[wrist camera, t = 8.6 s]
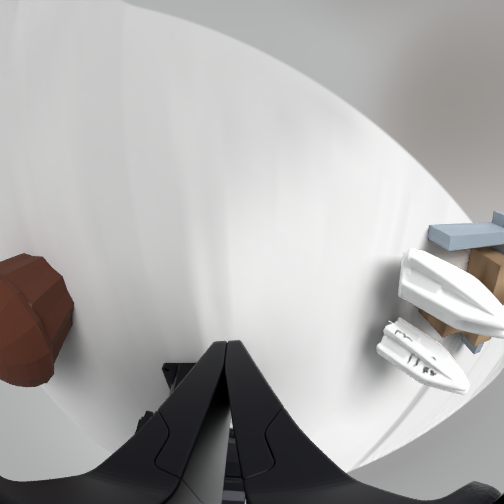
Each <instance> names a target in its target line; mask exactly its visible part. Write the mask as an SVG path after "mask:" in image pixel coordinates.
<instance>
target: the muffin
mask: <svg viewBox="0 0 504 504" xmlns="http://www.w3.org/2000/svg"><path fill="white" fill-rule="evenodd" d="M73 306H74V302H73V300H72V298H71V296H70V295H69V293H68V291H67V288H66V285H65V282H64V279H63V276H61V275H60V274H59V273H58V272H57V271H55V270H54V269H53V268H52V267H51V266H50V265H49V264H48V262H47V261H46V260H45V259H44V258H43V257H39V256H31V255H28V254H25V253H23V254H20V255H17V256H15V257H12V258H9V259H7V260H4V261H1V262H0V379H1V380H3V381H5V382H7V383H9V384H12V385H15V386H22V387H36V386H39V385H41V384H44V383H47V382H48V381H49V380H50V378H51V377H52V376H53V374H54V363H55V360H56V358H57V356H58V354H59V351H60V349H61V347H62V345H63V343H64V340H65V338H66V336H67V334H68V332H69V330H70V328H71V326H72V311H73Z"/></svg>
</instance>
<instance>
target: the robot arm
mask: <svg viewBox="0 0 504 504" xmlns="http://www.w3.org/2000/svg"><path fill="white" fill-rule="evenodd" d="M168 368H169V369H168ZM162 370H163V373H164V376H165V378H166V381H167V383H168V386H169V388H170V394H169V397H168V398H167V399H166V400H165V402H164V403H163V404H162V405H161V406H160V408H159V409H158V411H156V412H155V413H153V412H150V411H146V413H145V415H144V417H142V418H141V419H140V420H139V422H138V426H137V429H136V432H135V434H134V436H133V437H132V438H130V439H129V440H128V441H127V442H126V443H125V444H124V445H123V446H122V447H120V448H119V449H118V450H117V451H116V452H115V453H113V454H112V455H111V456H110V457H109V458H108V459H106V460H105V461H104V462H103V463H102V464H100V465H99V466H98V467H96V468H95V469H93V470H91V471H89V472H87V473H85V474H82V475H78V476H71V477H65V478H58V479H49V480H40V481H27V482H18V481H11V480H8V479H5V478H3V477H1V476H0V504H245V498H246V504H504V493H503V494H502V495H501V493H500V492H499V491H498V490H497V489H495V488H494V487H491V486H489V485H486V484H483V483H480V482H476V481H473V482H471V483H469V484H467V485H465V486H463V487H462V488H460V489H458V490H456V491H455V492H453V493H451V494H450V495H448V496H446V497H443V498H441V499H436V500H427V501H425V500H417V499H413V498H409V497H405V496H401V495H398V494H395V493H391V492H388V491H385V490H382V489H379V488H376V487H373V486H370V485H367V484H364V483H362V482H360V481H357V480H356V479H354V478H352V477H350V476H349V475H348V474H346V473H345V472H344V471H343V470H341V469H340V468H339V467H338V466H337V465H336V464H335V463H334V462H333V461H332V460H331V459H329V458H328V457H327V456H326V455H325V454H324V453H323V452H322V451H321V450H320V449H319V448H318V447H317V446H316V445H315V444H314V443H313V442H312V441H311V440H310V439H309V438H308V437H307V436H306V435H305V434H304V432H303V431H302V430H301V429H300V428H299V427H298V425H297V424H296V423H295V421H294V420H293V419H292V418H291V416H290V415H289V413H288V412H287V410H286V409H285V408H284V406H283V405H282V403H281V402H280V400H279V399H278V397H277V396H276V394H275V393H274V391H273V390H272V388H271V387H270V385H269V384H268V382H267V381H266V379H265V378H264V376H263V375H262V373H261V372H260V370H259V369H258V367H257V365H256V364H255V362H254V361H253V359H252V358H251V356H250V354H249V353H248V351H247V350H246V348H245V346H244V345H243V343H242V342H241V341H240V340H234V341H228V343H227V342H226V341H216V342H213V344H212V345H211V346H210V347H209V348H208V350H207V351H206V352H205V353H204V355H203V356H202V357H201V358H200V360H199V361H198V362H197V363H164V364H163V366H162ZM231 417H232V424H233V429H232V428H230V420H231Z"/></svg>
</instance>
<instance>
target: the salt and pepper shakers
mask: <svg viewBox="0 0 504 504" xmlns="http://www.w3.org/2000/svg"><path fill="white" fill-rule="evenodd" d="M398 296H399V297H400V298H402V299H405V300H406V301H408V302H410V303H412V304H413V305H415V306H417V307H418V308H420V309H422V310H424V311H425V312H427V313H429V314H430V315H432V316H434V317H436V318H437V319H439V320H441V321H442V322H444V323H446V324H448V325H450V326H451V327H453V328H456V329H458V330H462V331H466V332H470V333H475V334H479V335H485V336H490V337H496V338H502V339H504V307H503V305H502V304H501V303H500V302H499V301H498V299H497V298H496V297H495V296H494V295H493V294H492V293H491V292H490V291H489V290H488V289H487V288H486V287H485V286H484V285H483V284H482V283H481V282H480V281H479V280H478V279H477V278H475V277H474V276H472V275H471V274H469V273H467V272H465V271H464V270H462V269H460V268H458V267H456V266H454V265H452V264H450V263H448V262H446V261H444V260H442V259H440V258H438V257H436V256H433V255H431V254H429V253H427V252H425V251H423V250H417V249H415V248H411V249H409V250H408V251H407V252H406V253H403V256H402V260H401V271H400V279H399V294H398ZM388 322H390V323H391V324H389V325H387V326H386V327H385V328H384V330H383V332H384V336H383V337H382V338H383V339H382V341H381V342H380V343H379V344H378V345H377V354H378V355H381V356H382V357H384V358H385V359H386V360H388V361H389V362H391V363H392V364H393V365H395V366H396V367H398V368H399V369H400V370H402V371H403V372H405V373H406V374H408V375H409V376H410V377H412V378H413V379H415V380H416V381H418V382H420V383H422V384H424V385H427V386H431V387H434V388H438V389H441V390H445V391H449V392H454V393H457V394H462V395H464V394H466V393H467V391H468V389H469V386H470V384H469V380H468V379H467V377H466V375H465V374H464V372H463V371H462V369H461V368H460V367H459V365H458V364H457V362H456V361H455V360H454V358H453V357H452V356H451V355H450V353H449V352H448V351H447V350H446V348H445V347H444V346H443V345H441V344H440V343H439V342H438V341H436V340H435V339H433V338H432V337H430V336H429V335H427V334H426V333H424V332H422V331H421V330H419V329H418V328H416V327H415V326H413V325H411V324H410V323H408V322H407V321H405V320H403V319H402V318H400V317H399V318H398V321H397V320H396V322H395V323H393V322H391V321H388ZM396 331H398V332H397V333H396V334H395V332H396Z"/></svg>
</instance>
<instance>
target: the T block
mask: <svg viewBox="0 0 504 504" xmlns="http://www.w3.org/2000/svg"><path fill="white" fill-rule="evenodd" d="M467 273H469V274H471V275H472V276H474V277H475V278H477V279H478V280H479V281H480V282H481V283H482V284H483V285H484V286H485V287H486V288H487V289H488V290H489V291H490V292H491V293H492V294H493V295H494V296H495V297H496V298H497V299H498V301H499V302H500V303H501V304H502V305H504V255H503V254H501V253H500V252H498V251H496V250H494V249H493V248H491V247H489V246H485V247H477V248H471V254H470V259H469V264H468V269H467ZM419 312H420V313H421V314H422V315H423V316H424V318H425V319H426V320H427V321H428V322H429V323H430V324H431V325H432V326H433V327H434V329H435V330H436V331H437V332H438V333H439V334H440V335H441V337H445V336H448V335H451V334H454V333H457V332H461V333H462V334H463V335H464V336H465V337H466V338H467V340H468V341H469V342H470V343H471V344H472V345H473V346H477V345H479V344H481V343H483V342H486V341H488V340H490V339H491V337H490V336H485V335H479V334H475V333H470V332H466V331H462V330H458V329H456V328H453V327H451V326H450V325H448V324H446V323H444V322H442V321H441V320H439V319H437V318H436V317H434V316H432V315H430V314H429V313H427V312H425V311H424V310H422V309H420V308H419Z"/></svg>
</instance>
